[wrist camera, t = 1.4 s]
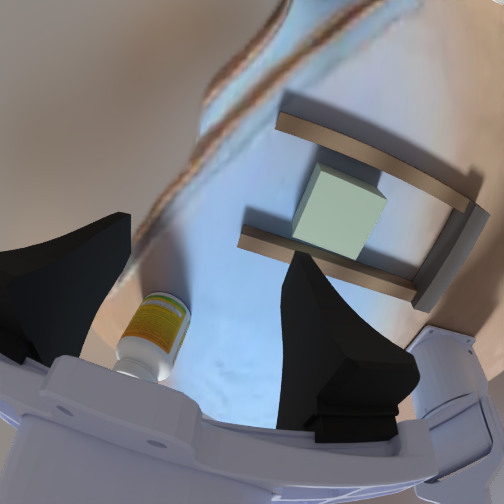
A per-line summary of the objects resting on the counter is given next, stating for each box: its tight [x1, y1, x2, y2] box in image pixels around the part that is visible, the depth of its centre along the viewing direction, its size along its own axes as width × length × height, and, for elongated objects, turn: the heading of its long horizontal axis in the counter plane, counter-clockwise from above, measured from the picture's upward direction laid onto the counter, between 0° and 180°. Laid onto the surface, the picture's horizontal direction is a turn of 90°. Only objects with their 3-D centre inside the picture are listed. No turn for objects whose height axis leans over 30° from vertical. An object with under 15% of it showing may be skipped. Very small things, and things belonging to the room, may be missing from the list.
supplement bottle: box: [113, 292, 191, 384], centre depth 25 cm, size 5×5×10 cm
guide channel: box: [237, 111, 490, 313], centre depth 20 cm, size 18×10×2 cm, turn 73°
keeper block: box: [292, 162, 388, 260], centre depth 20 cm, size 5×5×3 cm
